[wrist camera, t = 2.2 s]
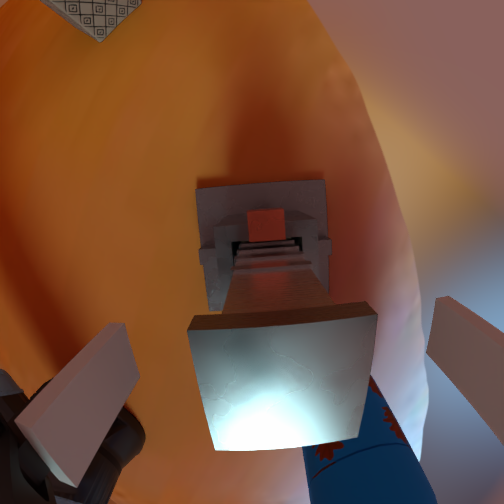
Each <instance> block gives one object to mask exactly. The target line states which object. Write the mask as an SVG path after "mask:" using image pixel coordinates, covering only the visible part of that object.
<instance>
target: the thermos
mask: <svg viewBox="0 0 504 504" xmlns="http://www.w3.org/2000/svg"><path fill="white" fill-rule="evenodd" d="M302 450H303V456H304V462H305V469H306V475H307V482H308V488H309V496H310V503H311V504H437V500H436V497H435V494H434V492H433V489H432V487H431V485H430V483H429V481H428V480H427V477H426V475H425V474H424V471H423V470H422V467H421V466H420V463H419V462H418V460H417V458H416V456H415V454H414V452H413V450H412V448H411V446H410V444H409V442H408V440H407V439H406V437H405V435H404V433H403V431H402V429H401V427H400V425H399V424H398V422H397V420H396V418H395V416H394V414H393V413H392V411H391V409H390V407H389V405H388V404H387V402H386V400H385V398H384V396H383V395H382V393H381V391H380V389H379V388H378V386H377V384H376V382H375V381H374V379H373V378H372V376H371V375H370V378H369V384H368V390H367V395H366V400H365V405H364V410H363V415H362V420H361V424H360V428H359V433H358V437H356V438H351V439H346V440H341V441H335V442H329V443H323V444H316V445H308V446H302Z"/></svg>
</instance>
